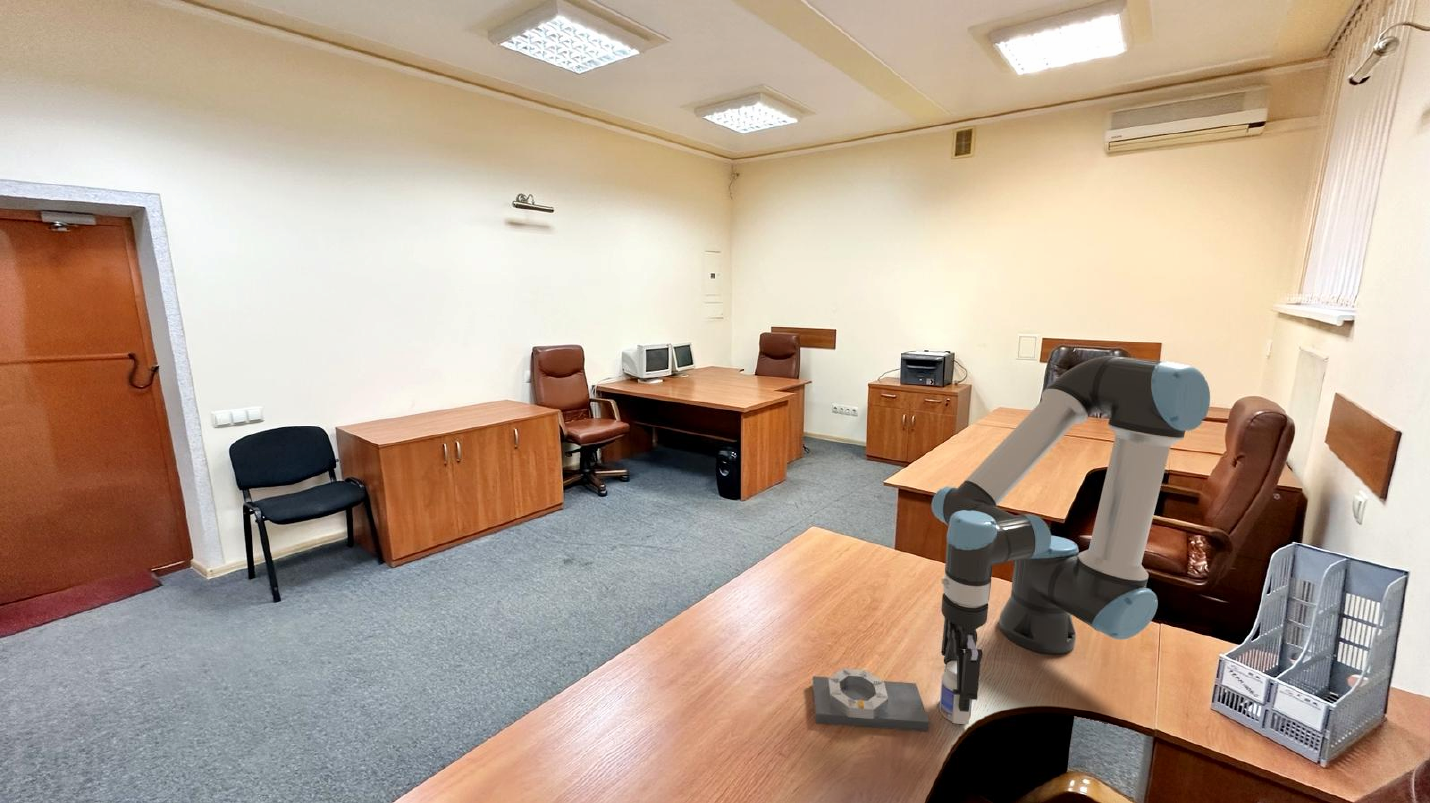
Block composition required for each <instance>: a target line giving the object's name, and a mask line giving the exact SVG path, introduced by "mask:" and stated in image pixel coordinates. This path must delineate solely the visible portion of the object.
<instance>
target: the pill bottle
mask: <svg viewBox="0 0 1430 803" xmlns="http://www.w3.org/2000/svg"><path fill="white" fill-rule="evenodd" d="M953 689H957V661H950V662H948V663H947V667H946V672H944V671H943V673H942V675H941V685H940V701H939V711H940V714H941V715H942V717H944V718H945V719H946V720H948V721H950V722H952V713H953V702H954V693H953ZM972 704H973V700H972V699H971V705H970V715H969V720H970V719H971V717H972V716H971V714H972V707H973V706H972Z"/></svg>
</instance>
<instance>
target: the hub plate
mask: <svg viewBox="0 0 1430 803" xmlns="http://www.w3.org/2000/svg"><path fill="white" fill-rule="evenodd" d="M812 693H813V705H814V716H815V724H822V725H823V724H825V725H837V726H847V727H848V726H849V727H850V726H851V727H862V728H863V727H864V728H878V729H887V730H889V729H891V730H903V731H915V732H927V733H928V732H929V729H930V720H929V717H928V714H927V712H926V709H925V705H924V703H923V699H922V696H921V694H920V692H919V688H918V685H917V683H916V682H905V681H890V680H882V679H880V678H878V676H875V675H874V674H872V673H871V672H869V671H867V670H865V669H854V668H842V669H840V670H838V671H837V672H835V673H833V674H832V675H830V676H829V677H828V676H815V675H814V676H812Z"/></svg>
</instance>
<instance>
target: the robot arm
mask: <svg viewBox="0 0 1430 803" xmlns="http://www.w3.org/2000/svg"><path fill="white" fill-rule="evenodd" d="M1210 403H1211V391H1210V385H1209V383H1208V380H1206V378H1205V376H1204V374H1203V373H1202V372H1201V371H1200V370H1199V369H1197V368H1196V367H1193V366H1191V365H1188V364H1187V365H1186V364H1181V363H1177V362H1172V361H1168V360H1167V361H1164V360H1152V359H1144V358H1136V357H1134V358H1133V357H1124V356H1120V355H1104V356H1099V357H1094V358H1091V359H1089V360H1086V361H1083V362H1081V363H1079V364H1077V365H1075V366H1074V367H1071V368H1070V369H1069V370H1067V371H1066V372H1064V373H1063V374H1061V375H1059V377H1057V378H1056V379H1055V380H1054V381H1052V382H1051V383H1050V384H1049V385H1048V386H1047V387H1046V388H1045V389H1044V390H1043V391H1042V393H1041V401H1040V402H1038V404H1037V405H1036V406H1035V408H1034V409H1032V411H1030V412H1029V413H1028V414H1027V415H1026V416H1025V418H1024V419H1022V421H1021V422H1020V423H1019V424H1017V426H1016V427H1015V428H1014V429H1013V430H1012V431H1011V432H1010V434H1008V435H1007V436H1006V437H1005V438H1004V439H1003V440H1002V441H1001V442H1000V443H999V444H998V446H997V447H996V448H995V449H994V450H993V451H991V453H990V454H989V455H988V456H987V457H986V458H985V459H984V460H983V461H982V462H981V464H979V465H978V466H977V468H975V469H974V470H973V471H972V472H971V474H970V475H969V476H967V478H966V479H964V481H963V482H961V484H960V485H959V486H958V487H955V486H945V487H942V488H940V489H939V490H938V491H936V492H935V494H934V496H933V497H932V501H931V511H932V514H933V515H934V517H935V518H936V519H938V520H940V521H941V522H942V523H944V524H945V525H946V526H947V527H948V528H947V532H946V546H945V547H946V548H945V549H946V550H945V551H946V552H945V563H944V566H945V567H944V578H941V579H940V580H941V582H940V583H941V584H942V585H943V589H942V590H943V593H942V597H941V599H942V600H941V607H940V608H941V615H942V616H943V617H944V618H943V619H944V621H943V629H942V630H943V633H942V642H941V651H940V653H941V655H942V656H943V657H944V658H943V663H944V669H943V670H944V671H943V673H944V672H946V667H947V663H948V662H950V661H957V689H953V693H954V702H953V713H952V721H951V722H952V724H957V725H958V724H961V725H969V724H970V719H969V715H970V705H971V699H972V701H974V700H975V701H977V700H978V696H979V695H978V694H979V683H980V682H979V681H980V672H981V663H982V658H983V654H984V653H983V650H982V648H977V641H978V631H977V629H978V628H981V627H983V626H984V625H985V624H986V623H987V621H988V613H989V601H990V598H991V596H990V595H991V587H992V574H993V567H994V566H997V565H1001V564H1005V563H1010V562H1013V567H1012V568H1013V570H1012V578H1011V579H1012V580H1011V591H1010V596H1009V597H1008V600H1007V601H1006V603H1005V604H1004V607H1003V608H1002V610H1001V612H1000V614H999V619H998V620H999V621H998V626H999V629H1000V631H1001V632H1002V634H1003V635H1004V636H1005V637H1006V638H1008V639H1009V640H1011V642H1014V643H1015V645H1019V646H1021V647H1022V648H1025V649H1028V650H1030V651H1032V652H1033V651H1034V652H1037V653H1041V654H1048V655H1049V654H1050V655H1061V654H1066V653H1069V652H1071V651H1072V650H1073V649H1074V647H1075V645H1076V639H1077V638H1076V637H1077V634H1076V630H1075V626H1074V622H1073V618H1072V616H1073V617H1074V618H1076V619H1078V620H1080V621H1081V622H1083V623H1084V624H1086V625H1088V626H1089V627H1091V628H1092V629H1093V630H1095V631H1097V632H1100V633H1102V634H1104V635H1107V636H1108V637H1110V638H1112V639H1115V640H1121V641H1122V640H1127V639H1130V638H1133V637H1136V635H1138V634H1140V633H1141V632H1142V631H1143V630H1144V629H1145V628H1146V627H1147V626H1148V625H1149V624H1150V623H1151V621H1152V620H1153V618H1154V617H1155V615H1156V613H1157V609H1158V606H1159V605H1158V604H1159V603H1158V602H1159V601H1158V597H1157V594H1156V593H1155V592H1154V591H1152V589H1151V588H1147V583H1148V579H1149V572H1147V570H1146V569H1145V568H1144V566H1143V565H1142V563H1143V558H1144V554H1145V552H1146V551H1145V550H1146V546H1147V542H1148V539H1149V535H1150V530H1151V527H1152V523H1153V518H1154V516H1155V515H1154V514H1155V510H1156V506H1157V503H1158V499H1159V496H1160V495H1159V494H1160V491H1161V487H1162V482H1163V480H1164V474H1165V471H1166V466H1167V463H1168V459H1169V455H1170V450H1171V447H1172V446H1173V444H1176V443H1178V442H1179V441H1182V440H1184V438H1185V434H1186V431H1187V432H1189V431H1192V430H1195V429H1197V428H1199V427H1200V426H1201V425H1202V424H1203V420H1205V419H1206V417H1207V415H1208V412H1209V409H1210V405H1211V404H1210ZM1098 413H1103V414H1108V415H1109V419H1108V427H1109V429H1110V430H1111V431H1112V432H1113V434H1114V435H1115V436H1114V439H1113V444H1112V447H1111V451H1110V452H1111V453H1110V457H1109V461H1108V465H1107V470H1106V474H1105V479H1104V482H1103V486H1102V491H1101V495H1100V500H1099V503H1098V509H1097V513H1096V517H1095V521H1094V525H1093V530H1092V534H1091V539H1090V543H1089V548H1088V549H1086V550H1084V551H1081V552H1079V551H1080V550H1079V546H1078V544H1077V543H1075V541H1073V540H1071V539H1068V538H1066V537H1061V536H1056V535H1052V533H1051V530H1050V528H1049V526H1048V524H1047V523H1046V522H1045V521H1044V520H1043V518H1041V517H1040V516H1038V515H1035V514H1031V513H1026V514H1024V513H1020V514H1018V515H1014V514H1012V513H1009V512H1007V511H1005V510H1003V509H1001V508H999V507H997V506H998V505H999V504H1000V503H1001V502H1002V501H1003V500H1004V499H1005V498H1006V497H1007V495H1009V493H1011V491H1012V490H1014V488H1015V487H1016V486H1017V485H1018V484H1019V483H1020V482H1021V481H1022V480H1023V479H1024V478H1025V477H1026V475H1028V474H1029V473H1030V472H1031V470H1032V469H1033V468H1034V467H1035V466H1037V464H1038V463H1039V462H1040V461H1041V460H1042V459H1043V458H1044V456H1046V455H1047V454H1048V453H1049V452H1050V450H1052V449H1053V448H1054V446H1055V445H1056V444H1057V443H1058V442H1059V441H1060V440H1061V439H1062V438H1063V437H1064V436H1065V435H1066V434H1067V433H1068V432H1069V430H1070V429H1072V427H1074V425H1075V424H1083V423H1085V422H1086V421H1087V420H1088V419H1089V418H1090V417H1091V415H1094V414H1098Z"/></svg>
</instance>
